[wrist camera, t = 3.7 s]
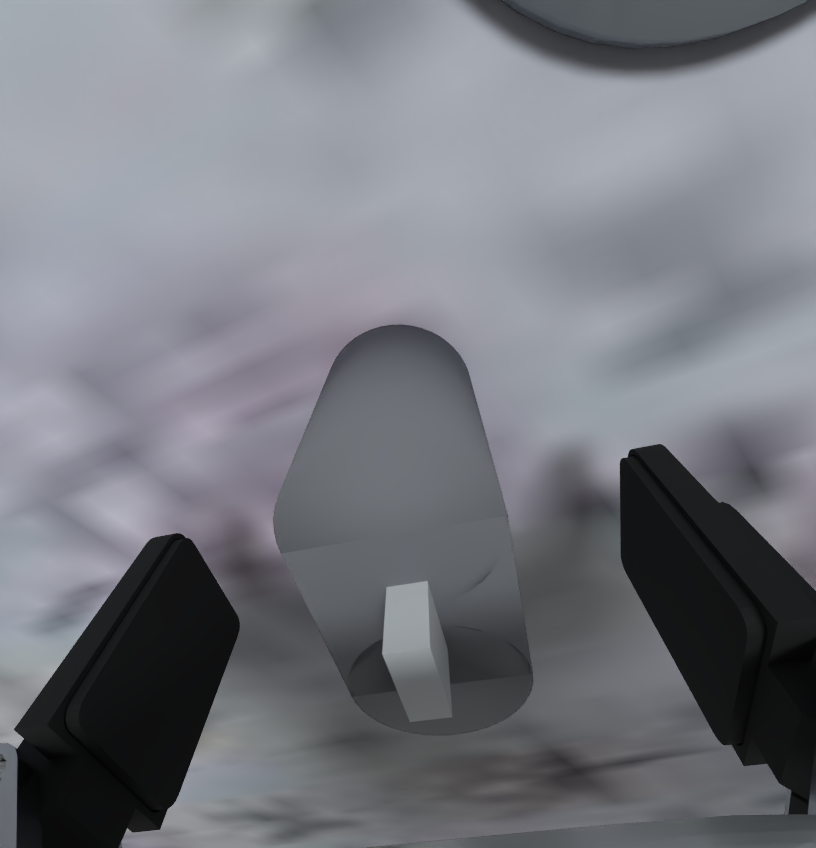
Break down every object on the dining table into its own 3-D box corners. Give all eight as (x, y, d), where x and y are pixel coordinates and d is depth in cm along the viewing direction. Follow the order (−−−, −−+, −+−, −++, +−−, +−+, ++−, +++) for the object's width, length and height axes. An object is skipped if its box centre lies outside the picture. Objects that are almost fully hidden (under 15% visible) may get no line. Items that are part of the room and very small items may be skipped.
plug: (307, 343, 11) (200, 517, 5) (457, 309, 10) (508, 463, 5) (386, 568, 14) (370, 810, 9) (500, 550, 14) (556, 793, 8)
